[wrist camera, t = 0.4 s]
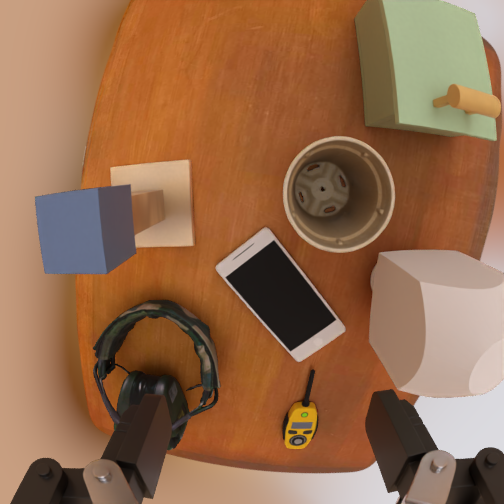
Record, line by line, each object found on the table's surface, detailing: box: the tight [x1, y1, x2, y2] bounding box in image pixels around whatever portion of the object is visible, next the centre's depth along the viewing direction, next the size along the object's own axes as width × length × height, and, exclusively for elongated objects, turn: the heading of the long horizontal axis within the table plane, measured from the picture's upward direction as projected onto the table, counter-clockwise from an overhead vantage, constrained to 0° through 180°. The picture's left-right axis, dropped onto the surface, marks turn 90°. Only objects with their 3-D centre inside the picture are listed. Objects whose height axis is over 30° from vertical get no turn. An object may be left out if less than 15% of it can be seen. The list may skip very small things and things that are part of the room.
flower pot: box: [283, 136, 395, 253], centre depth 28 cm, size 9×9×9 cm
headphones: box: [93, 300, 221, 450], centre depth 34 cm, size 13×13×20 cm
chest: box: [354, 0, 463, 137], centre depth 25 cm, size 14×12×8 cm
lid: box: [379, 0, 501, 141], centre depth 18 cm, size 15×12×6 cm
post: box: [110, 160, 195, 248], centre depth 27 cm, size 9×9×12 cm
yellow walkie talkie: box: [283, 369, 318, 449], centre depth 38 cm, size 5×2×15 cm
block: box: [35, 184, 136, 274], centre depth 19 cm, size 5×5×5 cm
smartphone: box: [216, 227, 346, 362], centre depth 35 cm, size 7×16×1 cm, turn 39°
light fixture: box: [369, 250, 504, 398], centre depth 25 cm, size 9×9×20 cm
